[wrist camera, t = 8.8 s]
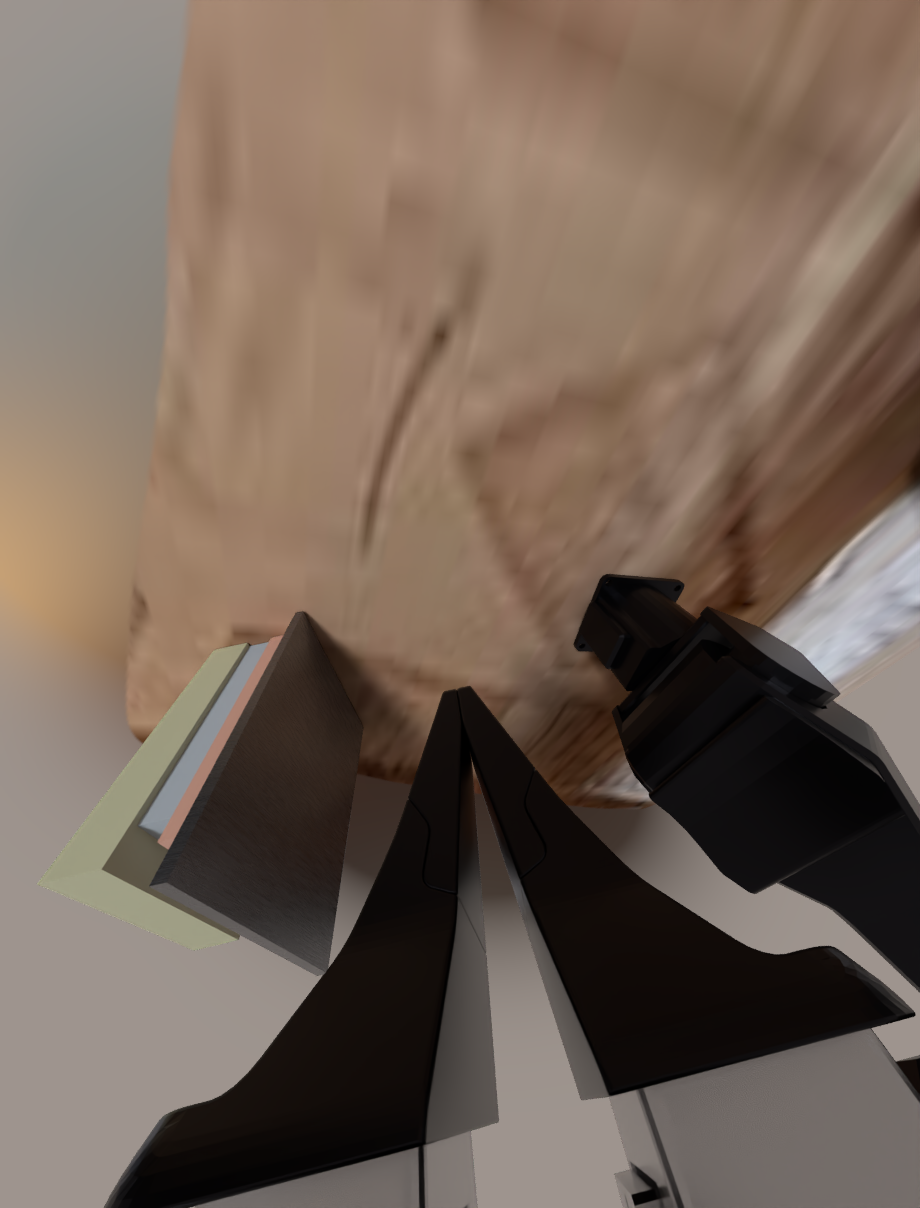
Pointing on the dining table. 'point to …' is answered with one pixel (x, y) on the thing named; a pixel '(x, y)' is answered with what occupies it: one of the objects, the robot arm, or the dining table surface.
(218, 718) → the book row
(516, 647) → the dining table surface
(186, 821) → the bookend
